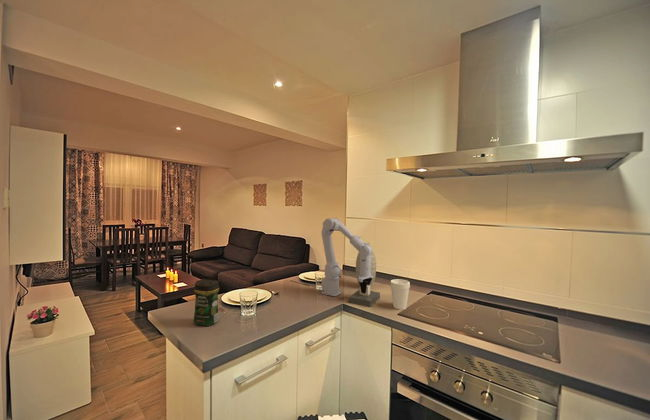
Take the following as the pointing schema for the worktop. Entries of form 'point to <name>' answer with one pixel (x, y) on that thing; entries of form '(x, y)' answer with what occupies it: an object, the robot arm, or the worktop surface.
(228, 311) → the worktop surface
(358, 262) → the vase
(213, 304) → the coffee jar
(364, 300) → the socket block
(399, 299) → the foam cup
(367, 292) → the plug
